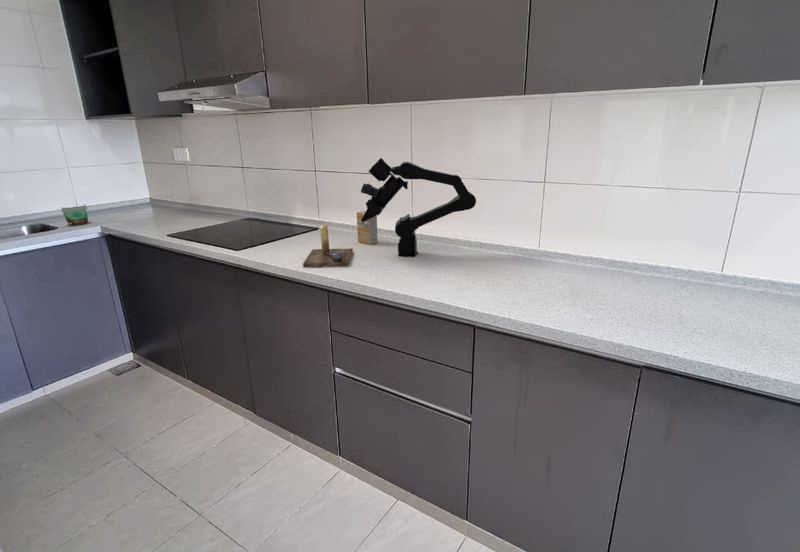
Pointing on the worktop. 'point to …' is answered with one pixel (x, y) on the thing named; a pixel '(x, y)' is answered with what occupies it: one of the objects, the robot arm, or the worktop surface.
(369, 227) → the supplement box
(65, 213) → the food container
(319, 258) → the dial board
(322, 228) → the tuning lever
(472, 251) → the worktop surface
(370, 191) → the robot arm
